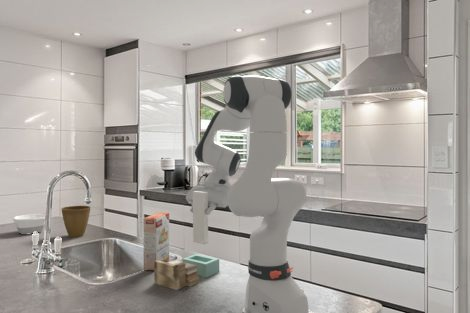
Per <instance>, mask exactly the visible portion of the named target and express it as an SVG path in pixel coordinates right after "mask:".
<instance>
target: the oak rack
mask: <svg viewBox="0 0 470 313" xmlns="http://www.w3.org/2000/svg"><path fill="white" fill-rule="evenodd" d="M153 272H154V275H153V276H154V284H156V285H159V286H162V287H166V288H170V289H172V290H176V291H178V290H179V289H182V288H184V287H186V286H187V285H186V276H185V263H180V264H177V265H175V264H171V263H168V262H166V259H165V258H162V259H159V260H156V261H154V270H153Z"/></svg>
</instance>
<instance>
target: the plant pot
mask: <svg viewBox="0 0 470 313" xmlns="http://www.w3.org/2000/svg"><path fill="white" fill-rule="evenodd" d="M61 214H62V219H63V220H62V221H63V224H64V226H65V230H66V233H67V236H68V237H69V238H81V237H83V236H84V235H85V233H86V232H85V231H86V229H87V227H88V222H89V218H90V214H91V206H90V205H71V206H70V205H69V206H64V207H61Z"/></svg>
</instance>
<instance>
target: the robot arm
mask: <svg viewBox="0 0 470 313" xmlns="http://www.w3.org/2000/svg"><path fill="white" fill-rule="evenodd" d="M222 95H223V100H224V101H223V102H224V103H225V107H224V108H223V109H218V110H217V111H216V112H215V114H214V115H213V116H212V118H211V119H210V121H209V123H208V125H207V127H206V129H205V132H204V133H203V135H202V137H201V139H200V141H199V142H198V144H197V145H196V147H195V149H194V156H195V158H196V159H197V161H198V162H200V163H203V164H207V165H208V166H210V167H212V170H211V171H210V172H209V173H208V175H207V177H206V178H205V181H204V182H203V184H201V183H198V184H195V185H194V186H192V188H191V189H190V190H189V191H188V192H187V194H186V195H185V200H186V202H187V203H188V204H191V207H190V209H189V211H190V212H191V213H192V214H193V191H201V192H208V209H206V210H205V212H204V213H205V214H207V215H208V216H209V215H210V214H211V212H212V211H214V210H215V209H216V208H224V209H225V208H226V207H228V208H229V210H230V211H231V213H232V214H233V215H235V216H237V217H242V218H257V217H258V218H259V217H263V219H262V221H261V223H260V224H259V225H258V226H257V227H256V228H254V230H252V232H251V233H250V237H249V260H248V264H247V267H248V268H247V269H248V274H249V276H248V277H249V278H248V281H247V284H246V290H245V298H244V299H245V301H244V307H243V309H242V311H241V313H315V312H314V311H312V309H310V308H309V300H308V297H307V295H306V293H305V291H304V289H303V288H301V286H299V285H298V283H297V282H296V281H295V279H294V278H293V277H292V272H293V269H294V267H290V265H289V262H288V260H287V252H288V251H287V249H288V248H287V247H288V246H287V245H288V244H287V243H288V234H289V230H290V227H291V225H292V222H293V220H294V218H295V217H296V215H297V214H298V213H299V211H300V210H301V209H302V208H303V207H304V206H305V203H306V201H307V200H306V199H307V192H306V188H305V186H304V185H303V183H302V182H301V181H300V180H298V179H294V178H289V177H275V178H274V177H273V174H274V172H275V171H276V169H277V168H278V167H279V166H280V165H281V164H283V163H284V161H286V158H287V149H288V148H287V147H288V146H287V144H288V143H287V142H288V140H287V139H288V128H287V127H288V126H287V124H288V123H287V116H286V115H287V113H286V109H287V108H288V107H289V105H290V104H291V101H292V88H291V86H290V83H289V82H288V81H287V80H286V79H285V80H284V79H281V78H272V77H266V76H260V75H243V76H242V75H240V74H238V75H233V76H229V77H228V78H227V79H226V81H225V83H224V86H223V92H222ZM248 128H249V145H248V146H249V147H248V158H247V162H246V165H245V168H244V170H243V172H242V174H241V175H240V177H239V178H237V180H236V181H235V182H234V183H232V184H231V183H230V182H229V181H230V180H231V178H232V177H233V176H234V175H236V173H237V171H238V169H239V167H240V166H241V160H242V159H241V157H240V154H239V152H238V151H236V150H234V149H232V148H230V147H228V146H226V145H223V144H222V143H219V142H217V141H216V140H214V138H215V136H216V135H217V133H218V131H230V132H242V131H245V130H247V129H248Z"/></svg>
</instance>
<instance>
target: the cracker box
mask: <svg viewBox="0 0 470 313" xmlns="http://www.w3.org/2000/svg"><path fill="white" fill-rule="evenodd" d="M162 258H165V259H166V262H167V263H168V262H170V213H169V212H156V213H153V214H151V215H149V216H146V217H144V218H143V270H144V271H145V270H146V271H154V261H156V260H159V259H162Z"/></svg>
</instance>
